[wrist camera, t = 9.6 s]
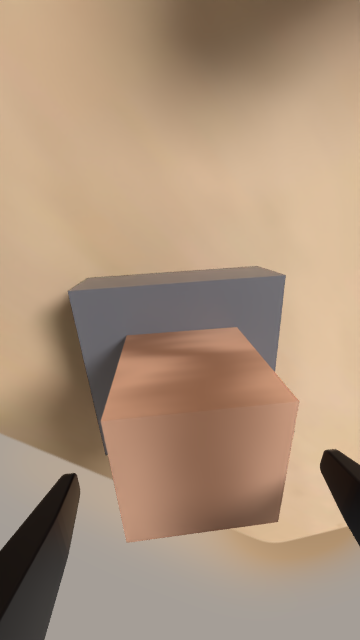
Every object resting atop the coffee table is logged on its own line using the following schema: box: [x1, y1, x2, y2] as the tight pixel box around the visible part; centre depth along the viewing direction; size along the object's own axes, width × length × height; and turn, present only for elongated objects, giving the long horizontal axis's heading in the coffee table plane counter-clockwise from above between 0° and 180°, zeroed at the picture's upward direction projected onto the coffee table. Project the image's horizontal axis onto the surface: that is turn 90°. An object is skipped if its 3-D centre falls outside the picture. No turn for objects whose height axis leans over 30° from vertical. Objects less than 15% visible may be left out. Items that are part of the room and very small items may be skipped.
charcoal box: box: [68, 266, 286, 455], centre depth 15 cm, size 11×11×4 cm
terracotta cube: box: [101, 327, 299, 542], centre depth 11 cm, size 6×6×6 cm
